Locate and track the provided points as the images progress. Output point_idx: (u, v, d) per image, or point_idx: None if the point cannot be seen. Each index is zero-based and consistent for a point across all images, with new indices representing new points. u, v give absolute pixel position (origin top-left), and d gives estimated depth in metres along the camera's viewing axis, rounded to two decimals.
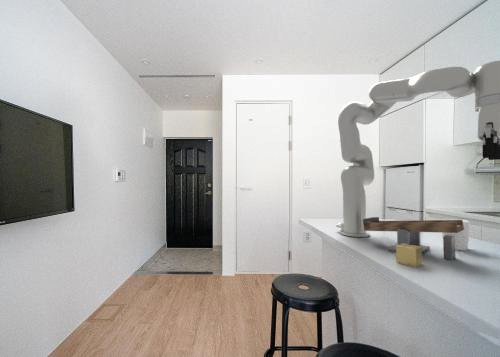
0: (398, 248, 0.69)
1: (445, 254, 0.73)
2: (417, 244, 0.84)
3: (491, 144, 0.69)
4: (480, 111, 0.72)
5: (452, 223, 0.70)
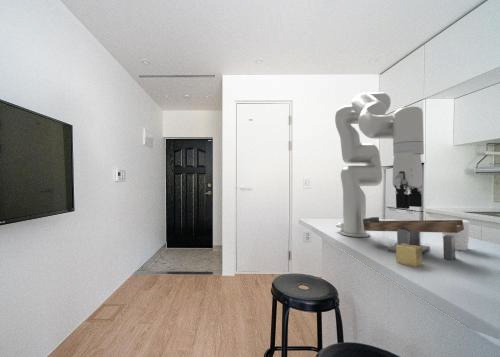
0: (398, 248, 0.69)
1: (445, 254, 0.73)
2: (417, 244, 0.84)
3: (402, 195, 0.65)
4: (394, 158, 0.69)
5: (452, 223, 0.70)
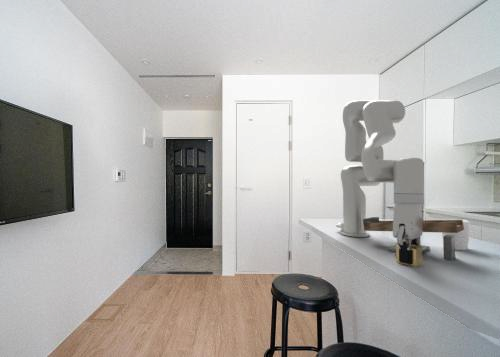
0: None
1: (445, 254, 0.73)
2: None
3: (405, 250, 0.67)
4: (395, 209, 0.68)
5: (452, 223, 0.70)
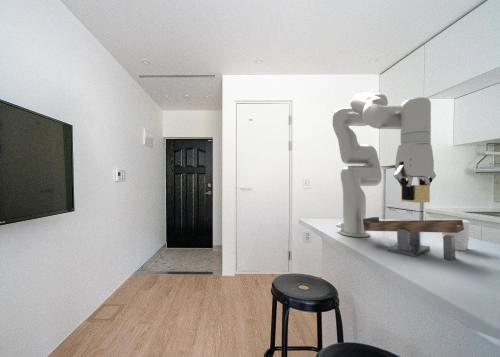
0: None
1: (445, 254, 0.73)
2: (417, 244, 0.84)
3: (405, 187, 0.70)
4: None
5: (452, 223, 0.70)
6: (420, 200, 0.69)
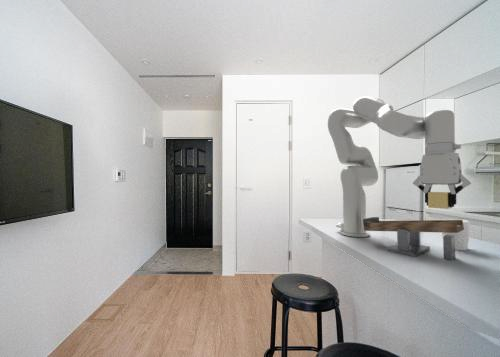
0: None
1: (445, 254, 0.73)
2: (417, 244, 0.84)
3: None
4: None
5: (452, 223, 0.70)
6: (434, 206, 0.75)
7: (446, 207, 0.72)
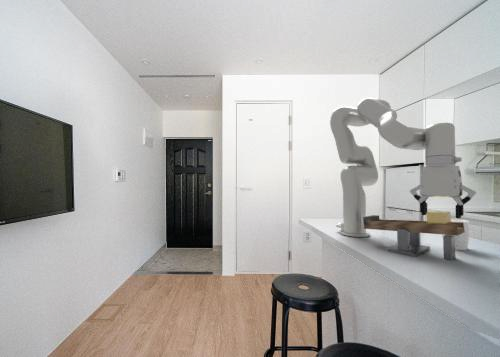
0: None
1: (445, 254, 0.73)
2: (417, 244, 0.84)
3: None
4: None
5: (453, 226, 0.70)
6: None
7: None
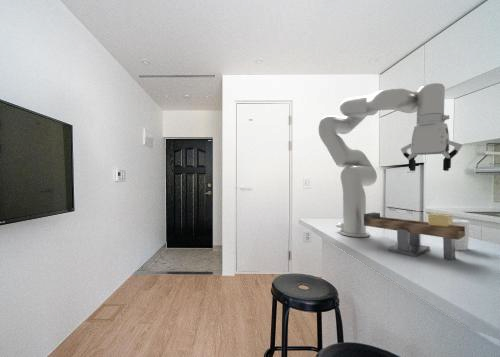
0: None
1: (445, 254, 0.73)
2: (417, 244, 0.84)
3: None
4: None
5: (454, 230, 0.70)
6: None
7: None
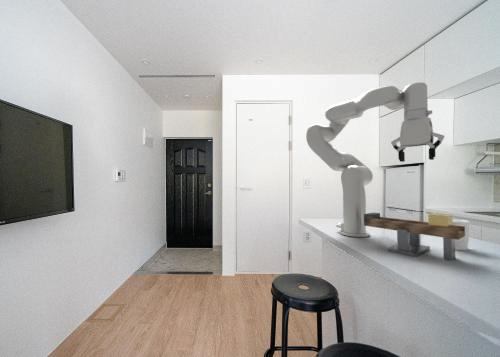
0: None
1: (445, 254, 0.73)
2: (417, 244, 0.84)
3: None
4: None
5: (454, 230, 0.70)
6: None
7: None
